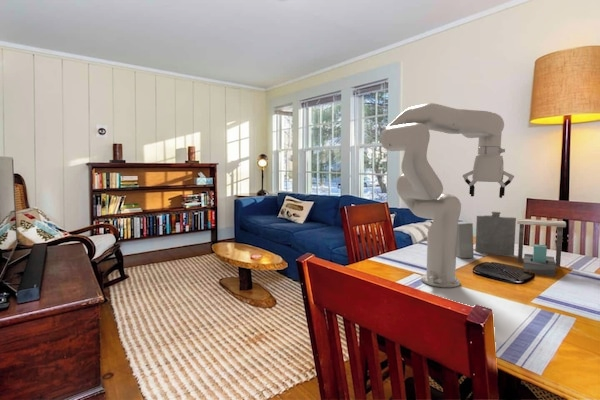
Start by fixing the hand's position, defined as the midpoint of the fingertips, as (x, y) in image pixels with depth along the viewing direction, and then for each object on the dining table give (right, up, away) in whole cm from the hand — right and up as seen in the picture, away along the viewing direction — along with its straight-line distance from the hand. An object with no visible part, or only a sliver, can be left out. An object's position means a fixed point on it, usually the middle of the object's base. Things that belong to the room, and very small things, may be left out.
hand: (486, 197), depth 130 cm
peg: (+22, -29, +3) cm, 37 cm away
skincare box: (+3, -27, +26) cm, 38 cm away
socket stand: (+24, -29, +6) cm, 38 cm away
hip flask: (+20, -27, +30) cm, 45 cm away
